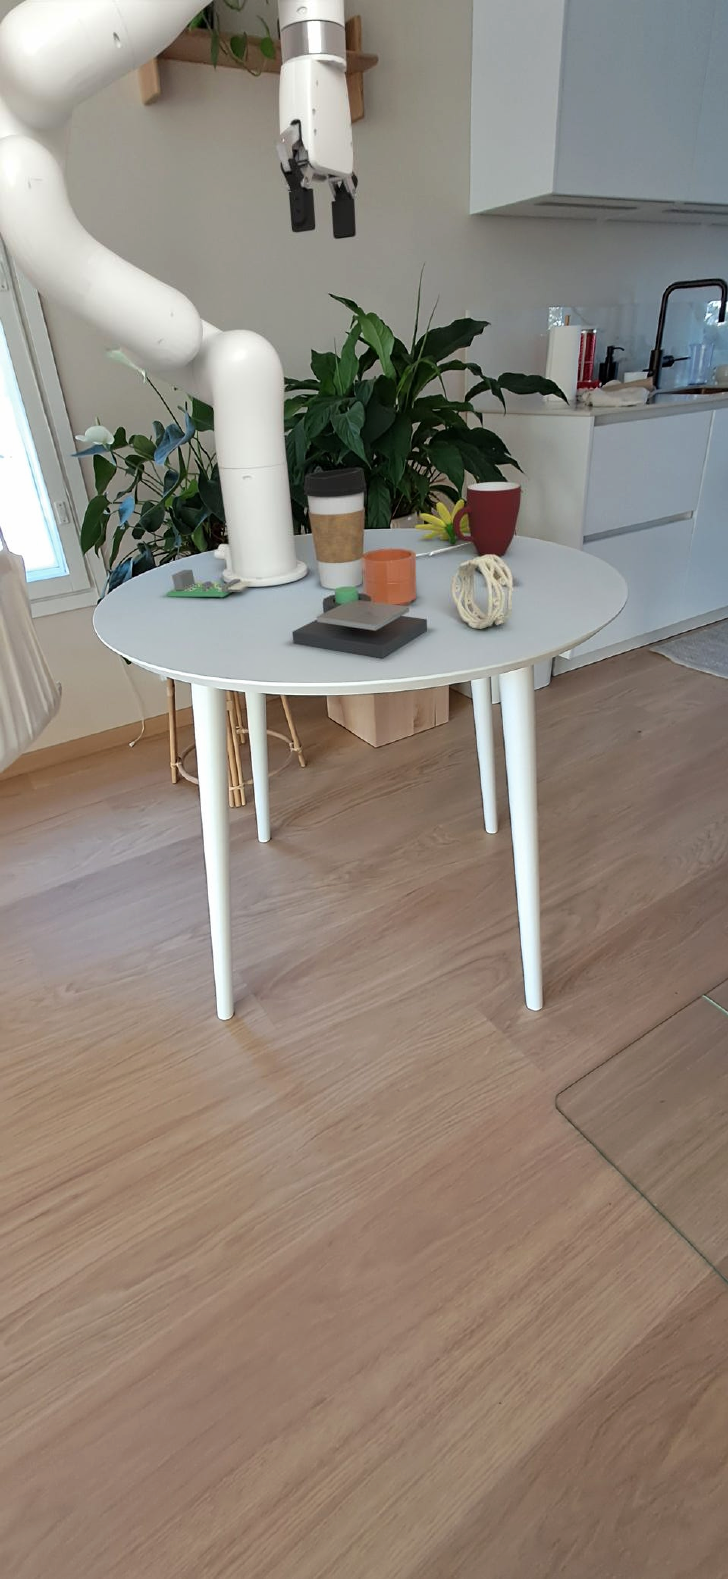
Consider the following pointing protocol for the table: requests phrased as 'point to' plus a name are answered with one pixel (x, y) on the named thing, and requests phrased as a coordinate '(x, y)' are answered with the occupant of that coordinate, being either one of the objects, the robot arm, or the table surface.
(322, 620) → the weighing plate
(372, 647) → the scale
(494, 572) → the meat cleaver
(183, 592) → the circuit board
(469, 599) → the bracelet
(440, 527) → the flower
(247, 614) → the table surface
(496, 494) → the mug
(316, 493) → the coffee cup
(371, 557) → the orange cup
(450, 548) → the silver knife
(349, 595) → the tare button
